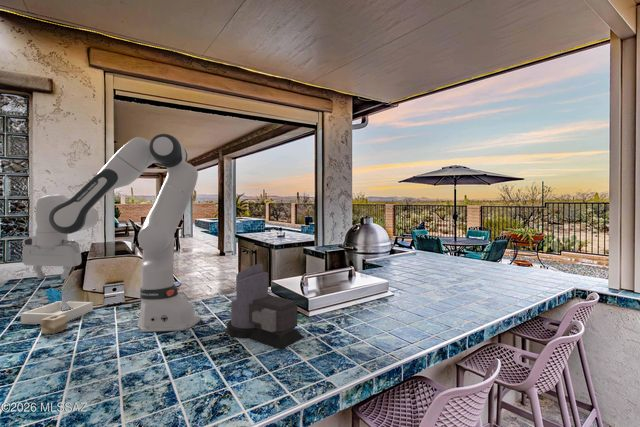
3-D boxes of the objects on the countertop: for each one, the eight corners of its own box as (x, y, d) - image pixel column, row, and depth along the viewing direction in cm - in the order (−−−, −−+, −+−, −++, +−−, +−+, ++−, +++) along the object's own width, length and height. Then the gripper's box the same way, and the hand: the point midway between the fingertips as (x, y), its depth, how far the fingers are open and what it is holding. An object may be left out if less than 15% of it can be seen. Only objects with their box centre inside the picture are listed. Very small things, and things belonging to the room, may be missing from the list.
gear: (57, 304, 142) (42, 288, 143) (47, 314, 142) (32, 298, 142) (75, 300, 153) (61, 285, 154) (66, 309, 153) (51, 294, 153)
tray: (92, 311, 138) (92, 302, 138) (59, 325, 122) (58, 314, 122) (58, 310, 139) (58, 301, 139) (20, 323, 124) (20, 313, 123)
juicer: (215, 330, 116) (214, 263, 116) (249, 318, 130) (248, 257, 129) (276, 352, 99) (275, 273, 98) (308, 335, 112) (308, 265, 111)
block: (66, 328, 119) (66, 315, 119) (54, 334, 114) (53, 319, 114) (54, 328, 119) (53, 314, 119) (41, 333, 114) (40, 319, 114)
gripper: (85, 239, 118) (86, 276, 118) (35, 238, 120) (36, 275, 120) (70, 241, 112) (71, 280, 112) (17, 240, 114) (18, 279, 114)
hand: (52, 278), depth 116 cm, fingers open, 8 cm apart
